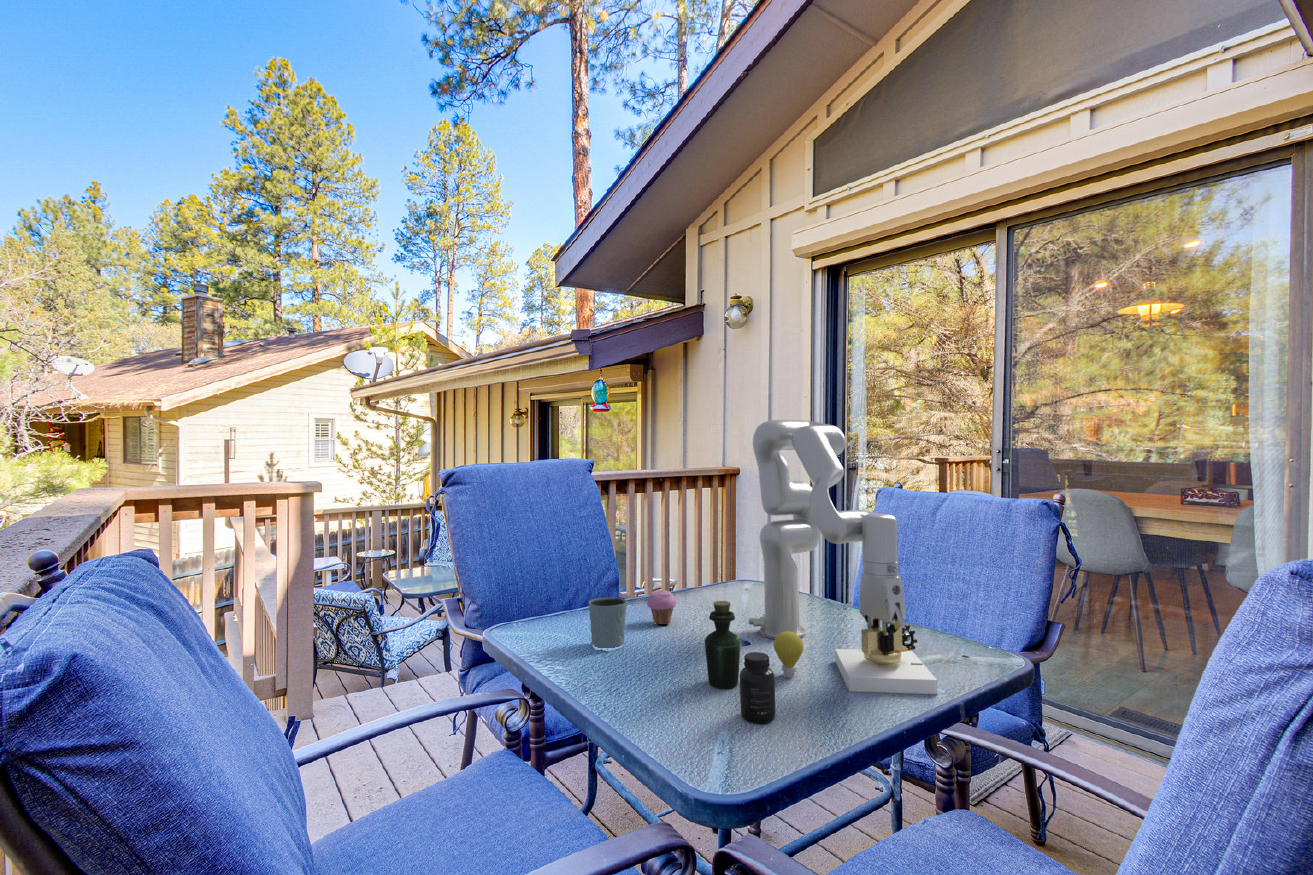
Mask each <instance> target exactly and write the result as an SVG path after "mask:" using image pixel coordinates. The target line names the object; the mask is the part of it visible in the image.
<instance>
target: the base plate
mask: <svg viewBox="0 0 1313 875" xmlns="http://www.w3.org/2000/svg"><path fill="white" fill-rule="evenodd" d="M834 653H835V655H834V658H835V659H834V660H835V661H834V662H835V663H836V666H837V667H838V670H839V672H840V675H841V676H842V679H843V681H844V683H845V685H846V686H847V689H848V691H849V692H856V693H858V692H859V693H860V692H862V693H863V692H864V693H865V692H866V693H886V694H889V693H891V694H915V695H916V694H917V695H918V694H923V695H938V679H937V678H936V677H935V676H934V675H933V673H932V672H931V671H930V670H929V669H928V667H927V666H926V665H925V664H924V663H923V662H922V661H921V659H920V658H918V656H917V655H916V654H915V652H914V651H913V650H908V651H905V652H901V661H900V662H898V663H895V664H878V663H875V662H872V661H869V660H867V659H865V658H864V652H862V649H856V648H854V649H852V648H851V649H850V648H849V649H848V648H847V649H846V648H834Z"/></svg>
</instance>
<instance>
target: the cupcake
mask: <svg viewBox="0 0 1313 875" xmlns="http://www.w3.org/2000/svg"><path fill="white" fill-rule="evenodd" d="M676 604H677V601H676V597H675V595H674V594H673V593H672V592H670V591H668V590H662V589H659V590H655V591H652V592H651V593H650V594H649V596H648V597H647V603H646V605H647V607H648V608H649V609H650V611H651V615H652V620H653V624H655V623H656V624H655V625H657V624H669V623H670V624H671V619H672V616H673V611H674V608H675V607H676ZM670 624H669V625H670Z"/></svg>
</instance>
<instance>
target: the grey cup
mask: <svg viewBox="0 0 1313 875" xmlns="http://www.w3.org/2000/svg"><path fill="white" fill-rule="evenodd" d="M627 606H628V605H627V600H626V599H625V598H622V597H615V596H605V597H604V596H603V597H596V598H593V599H590V600H589V601H588V612H589V620H590V634H591V637H590V638H591V645H592V644H593V645H594V646H595V647H598V648H615V647H619V646H621V645H622V644H623V643H624V644H625V626H626V613H627Z"/></svg>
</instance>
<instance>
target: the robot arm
mask: <svg viewBox="0 0 1313 875" xmlns="http://www.w3.org/2000/svg"><path fill="white" fill-rule="evenodd" d="M845 448H846V439H845V435H844V433H843V432H842V430H841V429H840V428H839V427H837V426H835V425H833V424H827V423H822V422H818V421H812V420H806V419H800V420H799V419H773V420H767V421H764V422H762V423H760V424H759V425H758V426H757V428H756V429H755V431H754V433H753V438H752V450H753V452H754V453H753V454H754V457H755V460H756V464H757V468H758V478H759V488H760V497H761V498H760V499H761V505H762V509H763V511H764V513H765V514H767V515H768V516H772V517H773V516H776V517H777V516H789V515H792V519H783V520H774V521H770V522H767V523H766V524H764V525H763V526H762V528H761V529H760V532H759V542H760V547H761V552H762V560H763V579H764V580H763V581H764V582H763V583H764V585H763V586H764V613H763V614H762V615H763V616H759V617H748V625H753V627H759V633H760V634H761V635H762V636H764V637H766V638H769V639H772V640H775V639H776V637H777V636H778V635H779V634H780V633H782V632H785V631H790V632H793V633H795V634H797V635H798V636H799V637H800V638H801V639H802V638H803V637H804V636H806V628H804V627H803V626H801V625H800V623H801V622H800V591H799V590H800V588H799V587H800V582H799V580H800V579H799V578H800V577H799V567H798V565H797V564H796V562H795V560H794V559H793V557H792V555H793V554H803V553H807V552H811V551H814V550H815V549H816V548H817V547H818V545H819V543H820V534H822V535H821V536H823V538H824V539H826V540H827V541H828V542H829V543H831V544H837V545H840V544H849V543H858V542H861V543H862V544H861V545H862V552H861V553H862V572H861V575H860V576H861V577H860V586H859V606H860V607H859V614H860V615H861V617H863V618H864V620H865V622H866V624H867V625H866V626H867V629H870V628H878V627H882V629H883V634H881V651H882V652H883V653H886V652H891V651H894V634H896V631H897V630H898V629H900V628H904V627H905V625H906V624H905V621H904V620H906V601H905V600H906V599H905V592H904V586H903V581H902V578H901V576H900V575H899V572H900V568H899V564H898V563H899V562H898V561H899V560H898V523H897V519H896V517H895V516H894V515H892V514H889V513H888V514H887V513H876V512H873V511H871V510H867V509H855V510H850V509H849V510H839V511H838V510H837V509H836V507H835V506H834V504H833V502H832V500H831V496H830V493H829V492H830V490H829V489H831V487H833V486H835V485H837V483H839V482H840V481H841V480H842V479H843V477H844V475H845V471H844V470H845V469H844V467H843V466H842V464H841V462H840V460H839V459H838V457H837V456H839V455H841V454H842V453H843V451H844V450H845ZM780 451H795V452H796V454H797V457H798V459H799V461H800V462H801V464H802V466H803V468H804V470H805V472H806V474H807V475H808V478H809V479H810V482H811V483H812V486H811V485H809V483H807V482H804V481H801V480H794V481H791V478H790V469H789V465H788V463H787V461H786V459H785V457H784V456H783V454H782V453H780ZM888 624H889V625H888ZM888 626H889V627H888ZM905 628H906V627H905Z"/></svg>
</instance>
